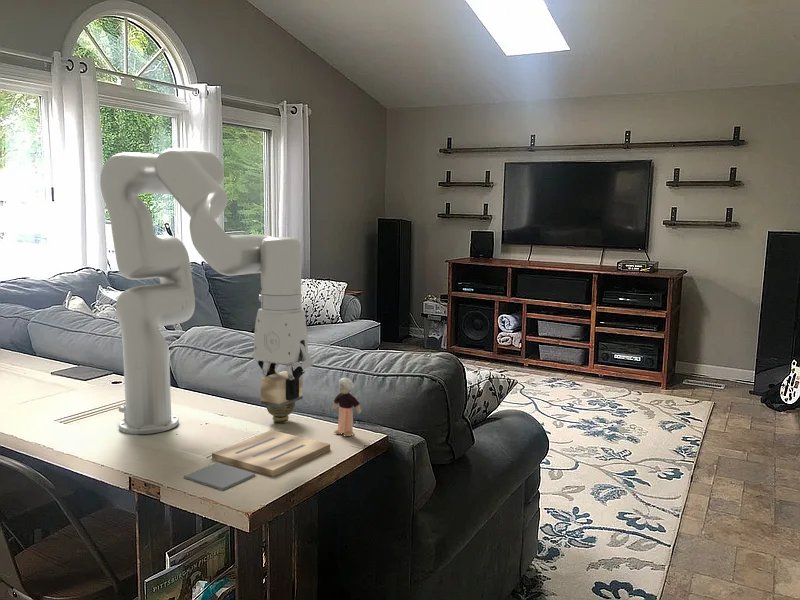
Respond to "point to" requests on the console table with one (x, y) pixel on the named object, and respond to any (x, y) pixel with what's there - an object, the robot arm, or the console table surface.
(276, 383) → the block
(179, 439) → the console table surface
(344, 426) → the grandmother figurine
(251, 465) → the plank
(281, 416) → the cup
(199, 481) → the mat
